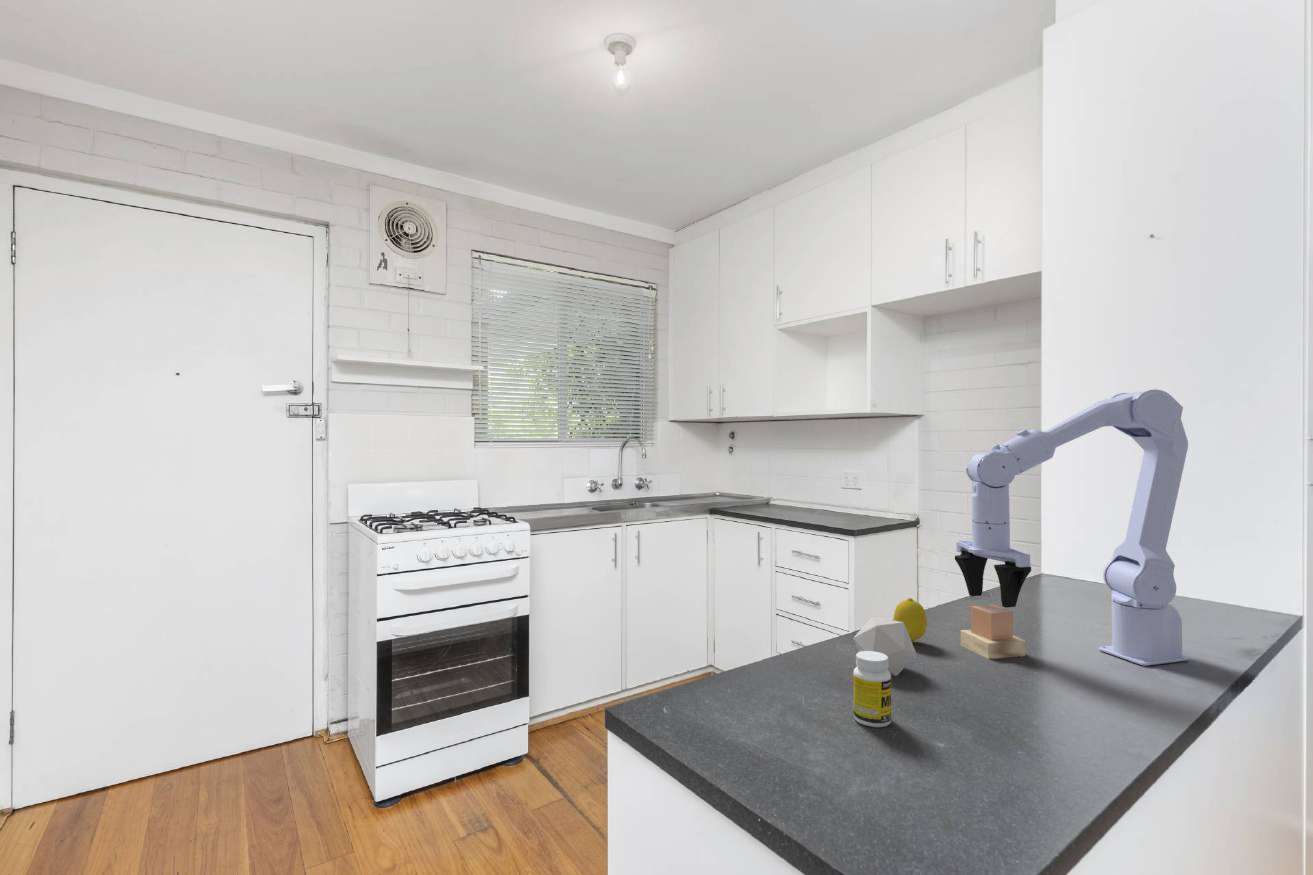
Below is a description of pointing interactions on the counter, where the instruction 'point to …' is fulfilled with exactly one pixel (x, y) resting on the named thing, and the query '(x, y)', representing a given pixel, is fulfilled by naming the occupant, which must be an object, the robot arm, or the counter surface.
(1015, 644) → the oak block
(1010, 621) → the terracotta cube
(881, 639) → the die
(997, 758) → the counter surface
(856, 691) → the supplement bottle
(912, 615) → the lemon
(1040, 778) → the counter surface
